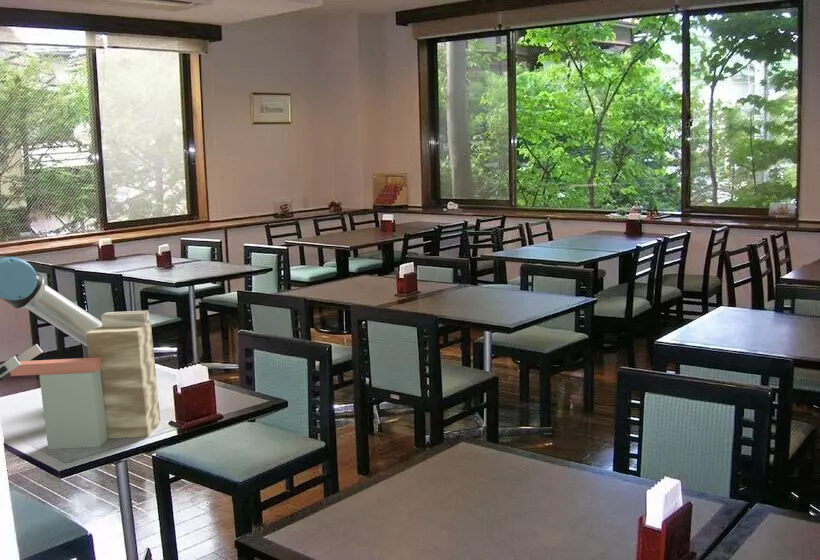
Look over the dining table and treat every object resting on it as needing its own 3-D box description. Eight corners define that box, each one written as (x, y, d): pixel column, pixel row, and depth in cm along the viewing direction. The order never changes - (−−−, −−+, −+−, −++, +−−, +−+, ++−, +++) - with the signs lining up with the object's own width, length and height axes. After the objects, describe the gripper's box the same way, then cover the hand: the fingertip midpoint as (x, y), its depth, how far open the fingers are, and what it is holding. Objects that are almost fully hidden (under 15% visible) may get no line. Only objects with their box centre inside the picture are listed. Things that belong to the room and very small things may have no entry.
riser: (57, 441, 234) (48, 369, 230) (107, 439, 234) (99, 367, 230) (48, 449, 228) (39, 375, 224) (100, 446, 228) (91, 373, 224)
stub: (17, 372, 230) (16, 361, 229) (101, 368, 229) (100, 357, 229) (10, 376, 226) (9, 365, 225) (96, 372, 225) (95, 361, 225)
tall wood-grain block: (112, 424, 246) (100, 312, 241) (160, 422, 246) (149, 309, 241) (97, 439, 234) (84, 320, 229) (148, 436, 234) (135, 318, 229)
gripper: (-5, 393, 241) (56, 354, 239) (-51, 421, 216) (16, 378, 215) (-21, 372, 240) (40, 332, 238) (-69, 398, 215) (-2, 353, 214)
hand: (28, 354), depth 227 cm, fingers open, 13 cm apart
